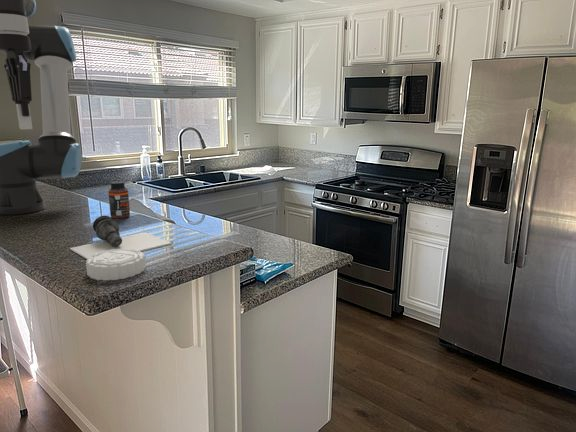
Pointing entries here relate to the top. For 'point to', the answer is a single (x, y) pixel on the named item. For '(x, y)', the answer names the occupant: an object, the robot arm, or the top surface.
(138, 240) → the board
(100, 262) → the mooncake
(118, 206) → the supplement bottle
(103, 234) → the salt shaker
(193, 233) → the top surface
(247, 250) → the top surface
